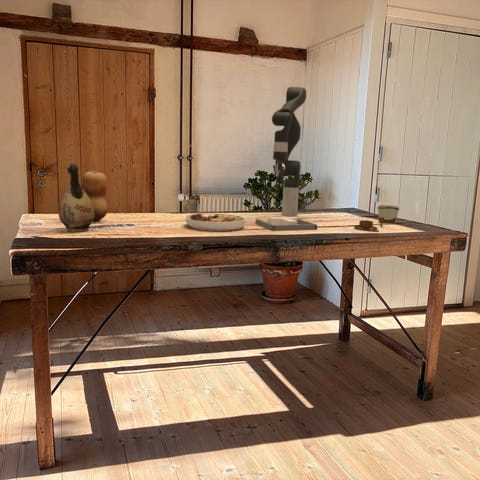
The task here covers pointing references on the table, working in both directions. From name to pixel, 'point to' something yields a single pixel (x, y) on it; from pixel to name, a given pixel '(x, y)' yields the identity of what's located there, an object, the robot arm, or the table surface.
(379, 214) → the food container
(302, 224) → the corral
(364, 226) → the place setting
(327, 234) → the table surface
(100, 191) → the brown hourglass-shaped piece
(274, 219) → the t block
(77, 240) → the table surface
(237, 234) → the table surface
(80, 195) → the ceramic jug
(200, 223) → the bowl
